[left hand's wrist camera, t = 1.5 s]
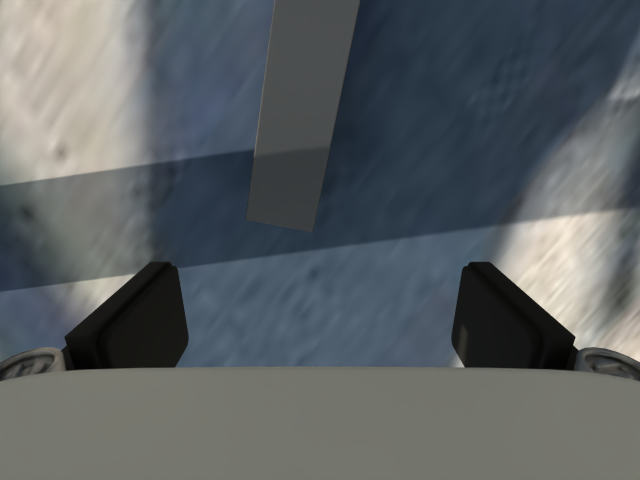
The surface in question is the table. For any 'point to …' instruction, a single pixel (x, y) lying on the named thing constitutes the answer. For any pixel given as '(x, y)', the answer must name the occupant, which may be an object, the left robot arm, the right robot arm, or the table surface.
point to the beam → (299, 108)
